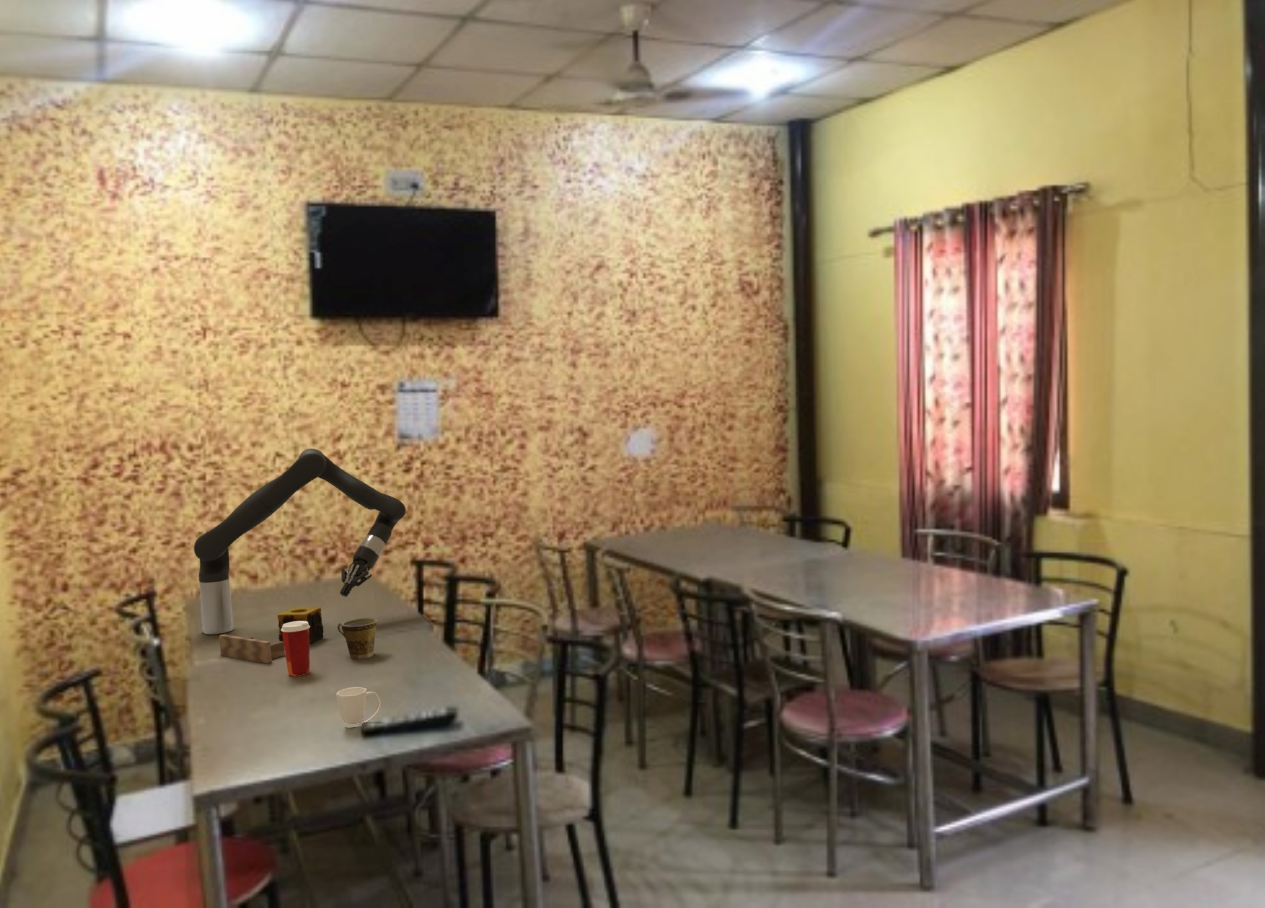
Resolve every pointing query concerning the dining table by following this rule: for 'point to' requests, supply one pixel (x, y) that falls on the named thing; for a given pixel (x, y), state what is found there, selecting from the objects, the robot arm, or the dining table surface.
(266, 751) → the dining table surface
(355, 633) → the ceramic cup
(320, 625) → the candle
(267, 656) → the brown rectangular block structure
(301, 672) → the paper cup
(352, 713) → the cup
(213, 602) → the robot arm
